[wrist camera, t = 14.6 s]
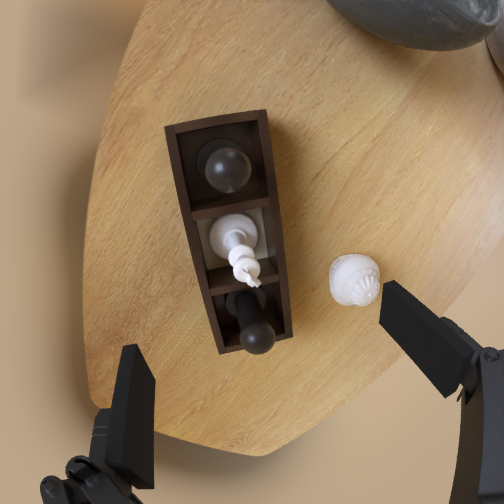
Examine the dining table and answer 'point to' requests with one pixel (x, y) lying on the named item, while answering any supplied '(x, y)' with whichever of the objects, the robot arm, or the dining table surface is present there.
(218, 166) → the ebony piece
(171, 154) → the rack
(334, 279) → the muffin
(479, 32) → the bowl
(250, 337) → the ebony piece
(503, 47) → the vase
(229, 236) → the chess piece
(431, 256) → the dining table surface
